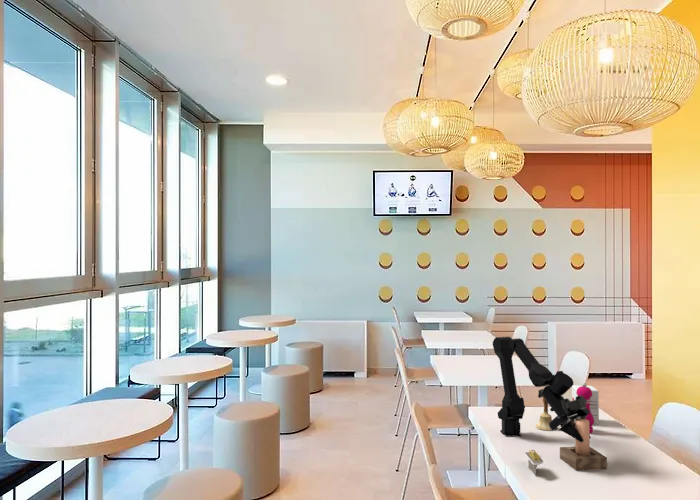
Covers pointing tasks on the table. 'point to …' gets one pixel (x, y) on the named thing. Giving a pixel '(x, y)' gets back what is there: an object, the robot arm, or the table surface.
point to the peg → (583, 429)
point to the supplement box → (594, 402)
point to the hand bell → (544, 418)
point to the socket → (583, 459)
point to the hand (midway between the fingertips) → (586, 440)
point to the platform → (533, 460)
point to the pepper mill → (587, 403)
